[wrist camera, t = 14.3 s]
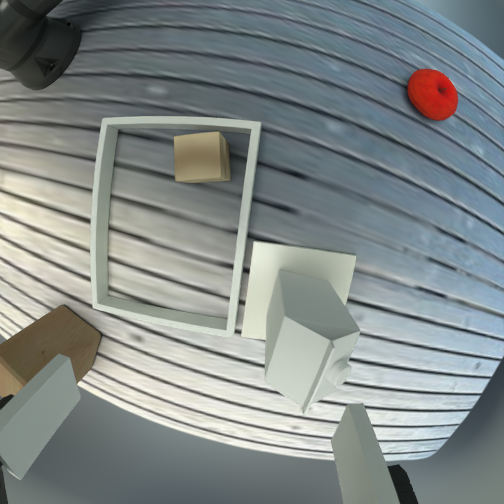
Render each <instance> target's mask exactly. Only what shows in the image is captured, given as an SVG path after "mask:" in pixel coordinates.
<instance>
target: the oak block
mask: <svg viewBox="0 0 504 504" xmlns="http://www.w3.org/2000/svg"><path fill="white" fill-rule="evenodd" d="M174 161H175V181H178V182H187V183H203V182H216V181H231V175H230V152H229V143H228V142H227V140H226V139H225V138H224V137H223V136H222V134H221V133H220V132H219V131H217V132H207V133H198V134H189V135H181V136H174Z"/></svg>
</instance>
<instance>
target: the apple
mask: <svg viewBox="0 0 504 504" xmlns="http://www.w3.org/2000/svg"><path fill="white" fill-rule="evenodd" d="M408 96H409V98H410V100H411V102H412V103H413V105H414V106H415V107H416V108H417V109H418V110H419V111H420V112H421V113H422V114H423V115H424V116H426V117H427V118H430V119H433V120H436V121H439V120H445V119H447V118H449V117H450V116H451V115H453V114H454V113H455V111H456V108H457V104H458V96H457V91H456V89H455V87H454V85H453V84H452V82H451V81H450V80H449V78H448V77H447V76H445V75H444V74H443V73H441V72H439V71H437V70H431V69H420V70H417V71H415V72H414V73H413V74H412V76H411V77H410V79H409V82H408Z"/></svg>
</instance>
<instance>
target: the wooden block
mask: <svg viewBox="0 0 504 504" xmlns="http://www.w3.org/2000/svg"><path fill="white" fill-rule="evenodd" d="M100 339H101V334H100V333H99V332H98V331H97V330H96V329H94V328H93V327H91V326H90V325H89V324H87V323H86V322H85V321H83V320H82V319H81V318H80V317H78V316H77V315H76V314H74V313H73V312H72V311H71V310H69V309H68V308H67V307H66V306H63V305H61V306H59V307H57V308H56V309H54V310H53V311H51V312H49V313H48V314H46V315H45V316H43V317H42V318H40V319H38V320H37V321H35V322H34V323H32V324H31V325H29V326H28V327H26V328H24V329H23V330H21V331H20V332H18V333H17V334H15V335H14V336H12V337H11V338H9V339H8V340H6V341H5V342H3V343H2V344H0V395H1V396H2V397H3V398H4V397H6V396H8V395H10V394H12V395H14V396H15V395H16V394H17V393H18V392H19V391H20V390H21V389H22V388H23V387H24V386H25V385H26V384H27V383H28V382H29V381H30V380H31V379H32V378H33V377H34V376H35V375H36V374H37V373H38V372H40V371H41V370H42V369H43V368H44V367H45V366H46V365H47V364H48V363H49V362H50V361H51V360H52V359H53V358H54V357H55V356H57V355H58V354H61V355H64V356H67V357H69V358H70V360H71V364H72V368H73V372H74V376H75V379H76V383H78V382H79V381H80V380H81V379H82V378H83V377H84V376H85V375H86V374H87V373H88V371H89V370H90V369H91V368H92V365H93V362H94V358H95V355H96V352H97V348H98V345H99V342H100Z"/></svg>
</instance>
